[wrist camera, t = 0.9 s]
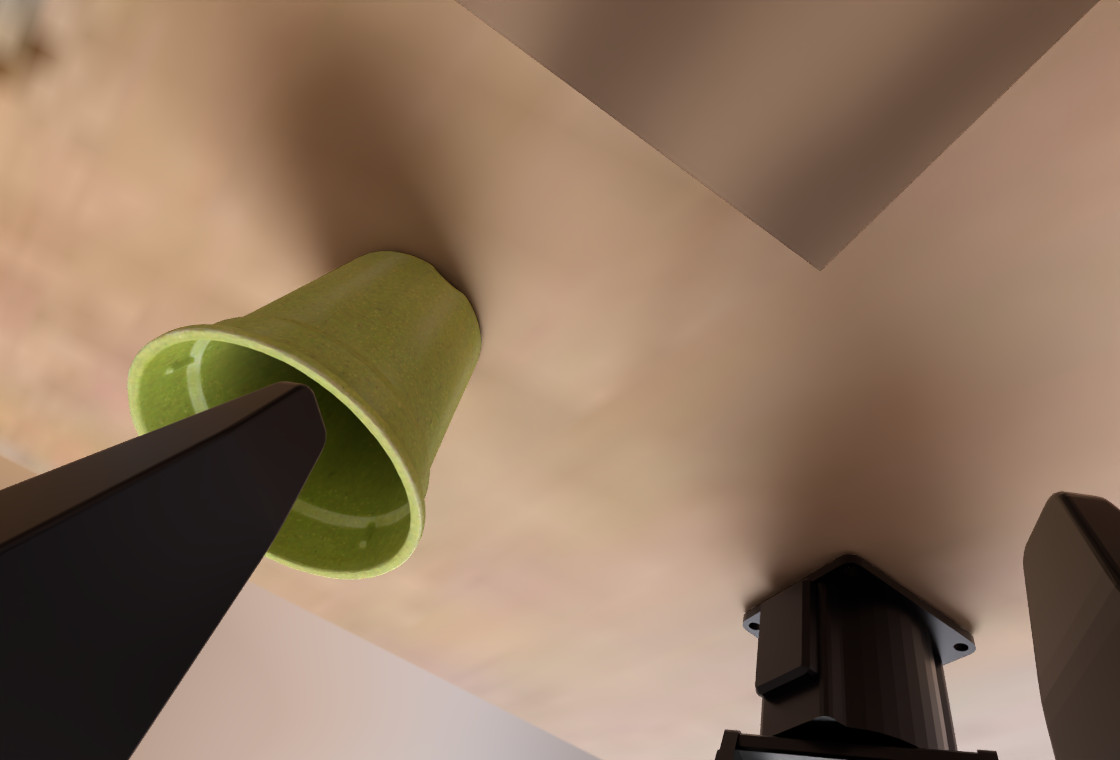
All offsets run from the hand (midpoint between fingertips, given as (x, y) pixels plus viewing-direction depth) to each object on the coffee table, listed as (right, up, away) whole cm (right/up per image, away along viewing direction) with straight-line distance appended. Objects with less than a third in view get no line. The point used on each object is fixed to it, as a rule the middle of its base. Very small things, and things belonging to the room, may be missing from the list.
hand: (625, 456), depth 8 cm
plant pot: (-6, +3, +18) cm, 19 cm away
